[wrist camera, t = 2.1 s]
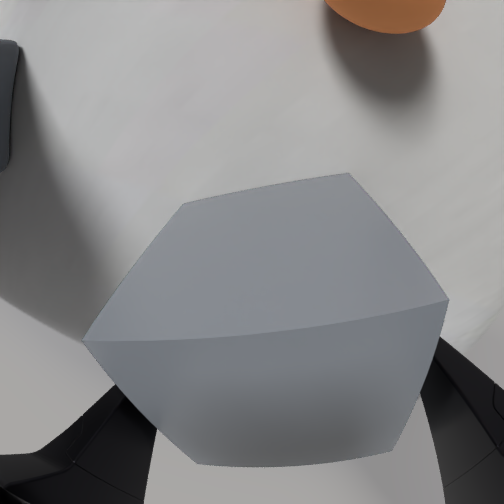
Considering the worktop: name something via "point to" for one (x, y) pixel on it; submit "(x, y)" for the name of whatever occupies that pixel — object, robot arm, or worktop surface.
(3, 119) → the storage bin
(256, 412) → the matte grey cube
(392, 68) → the worktop surface
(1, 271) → the worktop surface
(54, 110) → the worktop surface
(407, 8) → the ball
